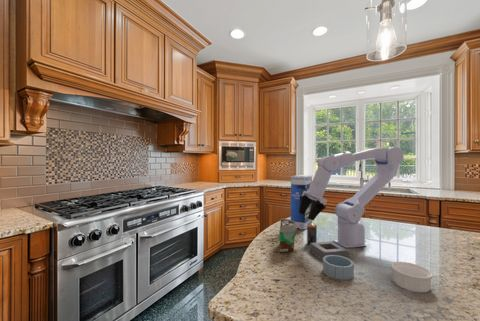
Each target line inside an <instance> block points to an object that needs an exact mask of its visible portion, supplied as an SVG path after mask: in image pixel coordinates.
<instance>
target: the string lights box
mask: <svg viewBox="0 0 480 321" xmlns="http://www.w3.org/2000/svg"><path fill="white" fill-rule="evenodd" d="M312 181H313V175H309V174H308V175H305V174H298V175H290V220H292V221H294V222H295V224H296V226H297V228H299V229H298V230H303V229H305V230H307V224H308V223H313V220H311V219H308V216H309V213H310V210H311V204H310V205H309V207H308V208H307V210H306V212H305V214H304V215H303V214H300V213H299V208H300V195H301V196H304V195H302V194H303V191H307V192H308V190H309V188H310V185H311V183H312ZM311 198H313V197H311ZM311 198H310V199H311Z"/></svg>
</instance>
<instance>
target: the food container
mask: <svg viewBox="0 0 480 321" xmlns="http://www.w3.org/2000/svg"><path fill="white" fill-rule="evenodd" d="M297 230H298V229H297V226H296V224H295V222H294V221H292V220H291V219H288V218H280V226H279V254H283V255H284V254H290V253H293V252H294V249H295V239H296V238H295V237H296V231H297Z"/></svg>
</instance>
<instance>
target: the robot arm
mask: <svg viewBox="0 0 480 321" xmlns="http://www.w3.org/2000/svg"><path fill="white" fill-rule="evenodd" d="M367 159H368V160H369V159H371V160H373V161H374V163H375V165H376V167H377V172H376V173H375V174H374V175H373V176H372V177H371V178H370V179H369V180H368V181H367V182H366V183H365V184H364V185H363V186H362V187H361V188H360V189H359V190H358V191H357V192H356V193H354V195H353V196H352V197H350V198H347V199H345V200H343V202H340V203H337V204H336V206H335V207H334V213H335V215H336V217H337V239H332V242H334V243H336V244H338V245H340V246H342V247H343V248H345V249H348V248H359V247H367V244H366V237H365V235H366V234H365V233H366V232H365V225H364V224H363V223H362V222H361V219H362V216H363V215H364V213H366V209H365V206H366V205H368V203H369V202H371V201H372V200H373V198H375V196H376V195H377V194H378V193H379V192H380V191H382V189H383V188H384V187H385V186H386V185H388V183H390V181H392V180H393V179H394V177H395V176H396V175H397V172H398V169H399V167H400V165H402V164H401V163H403V162H404V151H403V149H401V148H400V147H398V146H392V147H378V148H377V147H376V148H375V147H374V148H369V149H365V150H362V151H361V150H360V151H358V152H354V153H352V152H351V151H346V150H343V151H341V152H340V153H336V154H335V153H331V154H330V155H329V156H322V157H320V158H319V160H317V162H316V163H317V169H316V172H315V173H314V175H313V177H312V183H311V185H310V188H309V190H308V192H307V191H303V194H302V195H304V196H301V195H300V208H299V213H300V214H303V215H304V214H305V212H306V210H307V208H308V207H309V205H310V204H311V210H310V213H309V216H308V219H311V220H312V221H315V219H316V218H317V217H318V215H319V214H320V213H321V212H322V211H323V210H325V209H326V208H327V206H326V204H327V202H328V199H326V198H324V197H323V196H324V194H325V192H326V188H327V186H328V184H329V181H330V178H331V176H332V174H333V172H335V171H337V169H338V170H339V169H341V168H347V167H350V166H353V165H354V164H355V162H359V161H364V160H367ZM311 197H312V198H311ZM310 198H311V199H310Z"/></svg>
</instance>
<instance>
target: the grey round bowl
mask: <svg viewBox="0 0 480 321" xmlns="http://www.w3.org/2000/svg"><path fill="white" fill-rule="evenodd" d="M354 271H355V263H354V261H353V260H351V259H350V258H349V257H348V258H346V257H342V256H337V255H327V256H325V257H323V260H322V273H324V275H326V276H327V277H330V278H332V279H335V280H342V281H346V280H352V278H354V277H355V272H354Z"/></svg>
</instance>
